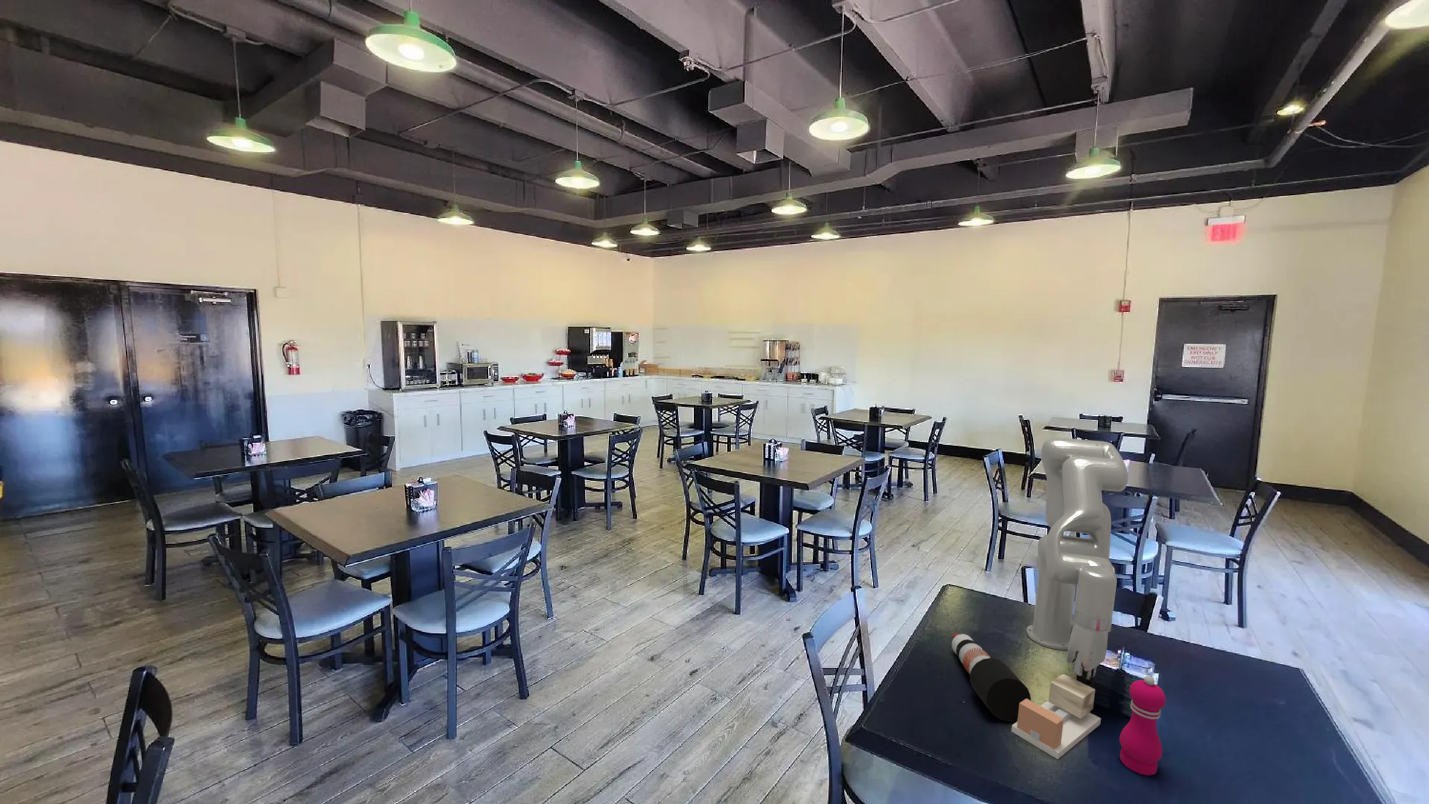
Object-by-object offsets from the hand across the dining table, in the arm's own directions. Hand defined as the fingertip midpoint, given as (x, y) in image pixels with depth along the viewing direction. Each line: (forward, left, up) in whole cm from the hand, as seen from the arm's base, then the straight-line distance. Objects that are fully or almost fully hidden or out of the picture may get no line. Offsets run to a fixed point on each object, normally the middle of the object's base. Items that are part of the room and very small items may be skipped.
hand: (1083, 691), depth 138 cm
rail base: (+12, 0, -5) cm, 13 cm away
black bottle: (+10, -20, -5) cm, 23 cm away
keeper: (+6, 0, -1) cm, 6 cm away
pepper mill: (+9, +15, -5) cm, 18 cm away
